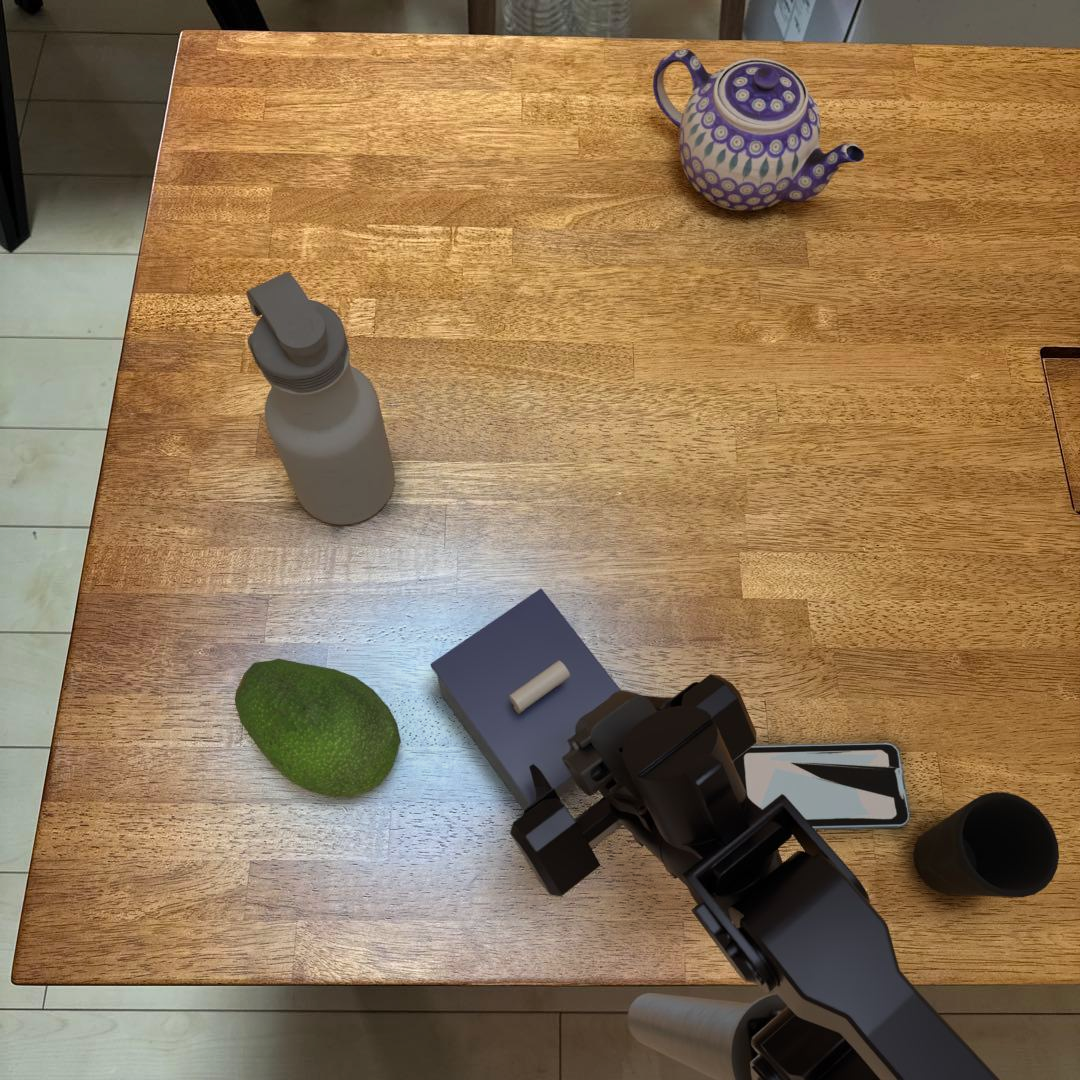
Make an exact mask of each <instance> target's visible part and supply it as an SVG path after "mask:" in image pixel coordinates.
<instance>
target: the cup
mask: <svg viewBox="0 0 1080 1080" xmlns="http://www.w3.org/2000/svg"><path fill="white" fill-rule="evenodd" d="M912 854H913V865H914V868H915V870H916V872H917V875H918V876H919V878H920V879H921V881H923V883H924V884H925V885H926V886H928V888H930V889H931V890H933V891H935V892H936V893H939V894H943V895H948V896H951V895H952V896H973V897H996V898H998V897H999V898H1026V897H1030V896H1034V895H1036V894H1038V893H1039V892H1041V891H1042V890H1044V889H1046V888H1047V886H1048V885H1049V884H1050V883H1051V882H1052V881H1053V880H1054V876H1055V874H1056V873H1057V870H1058V868H1059V867H1058V866H1059V860H1060V850H1059V842H1058V838H1057V836H1056V832H1055V830H1054V828H1053V826H1052V825H1051V823H1050V821H1049V819H1048V818H1047V817H1046V816H1045V815H1044V813H1043V812H1042V811H1041V810H1040V809H1039V808H1038V807H1037V806H1035V805H1034V804H1033V803H1032V802H1031V801H1029V800H1027V799H1025V798H1023V797H1022V796H1019V795H1017V794H1014V793H1011V792H1010V793H1009V792H1005V791H1003V792H1001V791H993V792H989V793H984V794H980V795H979V796H977V797H976V798H974V799H973V800H971V801H970V802H968V803H966V804H965V805H964V806H962V807H960V808H959V809H958V810H956V811H955V812H953V813H951V814H950V815H949V816H947V817H946V818H944V819H942V820H941V821H939V822H937V824H935V825H933V826H932V827H930V828H929V829H927V830H926V831H924V832H923V833H922V834H921V835H920V836H919V837H918V838H917V841H916V842H915V844H914V848H913V853H912Z"/></svg>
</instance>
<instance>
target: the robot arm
mask: <svg viewBox="0 0 1080 1080" xmlns="http://www.w3.org/2000/svg"><path fill="white" fill-rule="evenodd" d="M575 733H576V734H575V735H574V736H572V737H571V738H570V739H568V740H567V742H568V744H569V745H570V751H569V752H568V753H567V754H566V755H564V756H563V757H562V761H563V763H564V765H565V766H566V768H567V769H568V771H569V772H570V774H571V776H572V777H573V779H574V780H575V782H576V783H577V785H576V786H578V788H579V789H580V790H581V791H582V793H583V794H585V795H587V796H588V797H592V796H595V794H597V793H598V792H599V793H600V795H601V796H602V798H600V799H598V801H596V802H594V804H592V805H591V806H590V807H588V808H587V809H586V810H585V811H583V812H582V813H580V815H578V816H576V817H575V818H574V816H573V815H572V813H571V812H570V810H569V809H568V808H567V806H566V805H565V804H564V803H563V801H561V798H559V797H558V795H557V793H556V791H555V790H554V788H552V787H551V785H550V784H549V782H548V781H547V779H546V778H545V776H544V775H543V773H542V772H541V770H540V769H539V768H538V767H536V766H535V765H534V764H532V765H531V766H530V767H529V769H530V773H531V777H532V781H533V785H534V789H535V794H536V801H535V802H533V803H532V804H531V805H529V806H528V807H527V808H525V810H522V815H521V816H520V817H518V818H517V819H516V820H514V821H513V822H512V824H511V828H510V830H509V834H510V836H511V837H512V840H513V842H515V844H516V846H517V848H518V849H519V851H520V852H521V854H522V856H523V858H524V860H525V861H526V862H527V864H528V866H529V867H530V869H531V871H532V872H533V875H535V878H536V879H537V880H538V882H539V884H540V885H541V886H542V887H543V888H544V890H545V891H546V893H548V895H550V896H555V897H559V898H562V897H563V896H564V895H565V894H567V893H568V892H569V891H571V890H572V889H573V888H574V887H575V886H577V885H578V884H579V883H581V882H582V881H583V880H584V879H586V878H587V877H589V875H591V874H592V873H594V871H596V870H598V868H599V867H601V863H600V861H599V859H598V858H597V856H596V854H595V852H594V850H593V849H594V848H596V847H597V846H598V845H599V844H601V843H602V842H603V841H604V840H606V839H607V838H608V837H610V836H611V835H613V834H614V833H615V832H616V831H617V830H618V829H620V828H622V827H624V828H625V829H626V830H627V831H628V832H629V833H630V834H631V836H632V838H633V840H634V841H635V842H636V843H637V844H638V845H639V846H640V847H641V848H643V847H645V849H646V850H648V852H650V853H651V855H653V856H654V857H655V858H656V859H657V860H658V861H659V862H660V863H661V864H662V865H663V866H664V869H665V870H666V872H667V873H668V874H669V875H670V876H671V877H672V878H673V879H675V880H677V879H678V880H679V881H680V882H681V883H682V884H683V885H685V887H686V888H687V890H688V892H689V894H690V895H691V897H692V899H693V900H694V902H695V903H696V905H694V906H693V908H691V909H690V911H691V913H692V914H693V915H694V916H695V918H696V919H697V921H698V922H699V923H700V925H701V926H702V927H703V929H704V930H705V931H706V933H707V934H708V936H709V937H710V939H711V940H712V941H713V942H714V944H715V945H716V946H717V948H718V949H719V951H720V952H721V953H722V954H723V956H724V958H725V959H726V960H727V961H728V962H729V964H730V966H731V967H732V968H733V969H734V971H735V972H736V974H737V975H738V976H739V977H740V978H741V980H743V981H744V982H746V983H752V984H754V985H756V986H757V987H759V988H760V989H761V990H762V991H763V992H765V993H766V994H767V993H768V994H770V993H771V992H772V991H774V992H775V993H777V994H778V995H779V997H780V998H781V999H782V1000H783V1001H784V1002H785V1003H786V1004H787V1007H786V1008H785V1009H779V1010H771V1012H770V1013H769V1014H770V1016H769V1017H759V1018H751V1019H749V1020H748V1021H747V1025H746V1026H747V1033H748V1039H749V1046H750V1053H751V1060H752V1061H751V1062H750V1067H751V1076H752V1080H1001V1079H1000V1078H999V1077H998V1076H997V1075H996V1074H995V1073H994V1071H992V1070H991V1068H990V1067H989V1066H988V1065H987V1064H986V1063H985V1062H984V1061H983V1060H982V1058H980V1056H978V1054H977V1053H976V1052H975V1051H974V1050H973V1049H972V1048H971V1047H970V1046H969V1044H967V1042H966V1041H964V1039H963V1038H962V1037H961V1036H960V1035H959V1034H958V1033H957V1032H956V1030H955V1029H953V1027H951V1025H950V1024H949V1023H948V1022H947V1021H946V1020H945V1019H944V1018H943V1016H941V1014H940V1013H939V1012H938V1011H937V1010H936V1009H935V1008H934V1007H933V1006H932V1004H930V1002H929V1001H928V1000H927V999H926V998H925V997H924V996H923V995H922V994H921V993H920V992H919V990H918V989H916V987H915V985H913V984H912V982H911V981H910V980H909V979H908V978H907V977H906V975H905V974H904V973H903V972H902V971H901V969H900V966H899V962H898V958H897V954H896V950H895V947H894V944H893V943H894V942H893V939H892V936H891V932H890V929H889V926H888V923H887V922H886V921H885V919H884V918H883V917H882V916H881V915H880V913H879V912H878V911H877V910H876V908H874V906H873V905H872V904H871V901H870V896H869V894H868V892H867V890H866V888H865V887H864V885H863V884H862V882H861V881H860V880H859V878H858V877H857V876H856V875H855V873H854V872H853V871H852V870H851V869H850V868H849V866H847V864H846V863H845V862H844V861H843V860H842V859H841V857H840V856H839V855H838V854H837V853H836V852H835V850H834V849H833V848H832V847H831V846H830V845H829V844H828V843H827V842H826V840H825V839H824V838H823V837H822V836H821V835H820V834H819V833H818V831H817V830H815V829H814V828H813V827H812V826H811V825H810V823H809V822H808V821H807V820H806V819H805V818H804V817H803V816H802V814H801V813H800V812H799V811H798V810H797V809H796V808H795V806H794V805H793V804H792V803H791V802H790V801H789V800H788V798H787V797H786V796H785V795H783V794H781V795H780V796H778V797H777V798H776V799H775V800H774V801H772V802H771V803H770V804H769V805H767V806H766V807H765V808H764V809H761V808H760V807H758V806H757V805H756V804H754V803H753V802H752V801H751V800H750V799H749V798H748V795H747V793H746V791H745V788H744V786H743V784H742V782H741V779H740V777H739V775H738V773H737V770H736V768H735V766H734V764H733V761H734V760H735V759H737V758H738V757H739V756H740V755H742V754H743V753H744V752H746V751H747V750H748V749H749V748H751V747H752V746H753V745H756V744H757V731H756V727H755V725H754V723H753V721H752V718H751V716H750V714H749V711H748V709H747V707H746V704H745V702H744V699H743V697H742V694H741V692H740V691H739V690H738V689H737V688H736V686H735V685H734V684H733V683H732V682H730V681H729V680H727V679H726V678H724V677H722V676H721V675H719V674H715V673H714V674H713V673H709V674H708V675H707V676H706V677H705V678H703V679H702V680H701V681H694V682H691V683H690V684H689V685H687V686H686V687H685V688H683V689H682V690H681V691H680V692H678V693H677V694H675V695H674V696H673V697H671V696H670V697H669V696H668V697H666V696H664V697H663V696H655V695H654V696H652V695H643V694H639V693H636V692H633V691H629V690H625V689H624V690H623V689H621V690H620V691H617V692H615V693H614V694H612V695H611V696H610V697H609V698H608V699H607V700H606V701H604V702H603V703H602V704H600V705H599V706H598V707H596V708H595V709H593V710H592V711H591V712H589V713H587V714H585V715H584V716H582V717H581V718H580V719H579V720H578V722H577V724H576V727H575ZM792 837H794V839H795V840H796V841H797V843H798V844H799V845H800V847H801V848H802V850H797V851H795V852H794V853H793V854H791V855H790V856H789V857H788V858H787V859H786V860H784V861H783V858H782V856H781V854H780V848H781V847H783V845H784V844H785V843H786V842H788V841H789V840H791V838H792ZM751 1022H755V1024H756V1027H755V1028H751V1026H750V1025H751Z"/></svg>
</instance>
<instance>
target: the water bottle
mask: <svg viewBox="0 0 1080 1080" xmlns="http://www.w3.org/2000/svg"><path fill="white" fill-rule="evenodd" d="M245 293H246V297H247V301H248V303H249V308H250V311H251V313H252V314H253V316H255V317H256V318H258V317H260V318H259V319H258V320H257V322H256V324H255V326H254V327H253V331H252V332H251V334H250V335H249V336H248V337H247V345H248V348H249V351H250V352H251V355H252V357H253V360H254V362H255V364H256V366H257V367H258V369H259V370H260V372H261V373H262V375H263V377H264V379H265V380H266V381H267V382H268V384H269V385H270V390H269V392H268V393H267V396H266V400H265V404H264V420H265V425H266V428H267V431H268V433H269V436H270V439H271V441H272V443H273V445H274V447H275V449H276V452H277V454H278V457H279V459H280V461H281V464H282V466H283V468H284V471H285V472H286V475H287V477H288V480H289V481H290V484H291V486H292V489H293V491H294V493H295V495H296V498H297V499H298V502H299V504H300V505H301V506H302V508H303V509H304V510H305V511H307V512H308V513H309V514H310V515H311V516H312V517H314V518H316V519H318V520H319V521H321V522H325V523H328V524H331V525H339V526H342V525H352V524H357V523H360V522H362V521H365V520H367V519H370V518H371V517H373V516H374V515H375V514H377V513H378V512H379V511H380V510H381V509H382V508H383V507H384V506H385V505H386V504H387V502H388V501H389V500H390V497H391V495H392V493H393V490H394V486H395V480H396V474H395V473H396V471H395V467H394V463H393V458H392V454H391V450H390V444H389V441H388V436H387V431H386V426H385V423H384V418H383V413H382V409H381V405H380V400H379V396H378V394H377V391H376V389H375V386H374V385H373V383H372V382H371V381H370V380H369V378H368V377H367V376H366V375H365V373H363V372H362V371H360V370H359V369H358V368H357V367H355V366H353V365H351V364H350V359H351V349H350V346H349V342H348V339H347V338H348V337H347V335H346V331H345V326H344V324H343V321H342V319H341V318H340V316H339V315H338V313H336V311H335V310H334V309H332V308H331V307H330V306H328V305H326V304H325V303H322V302H321V301H317V300H314V299H309V297H308V296H307V294H306V293H305V290H304V289H303V288H302V287H301V285H300V284H299V282H298V281H297V279H296V278H295V277H294V276H293V275H292V274H291V273H290V272H288V271H285V272H283V273H281V274H279V275H277V276H275V277H272V278H271V279H269V280H266V281H264V282H262V283H260V284H258V285H256V286H253V287H251V288H249V289H247V290H246V292H245Z"/></svg>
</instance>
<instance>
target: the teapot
mask: <svg viewBox="0 0 1080 1080" xmlns="http://www.w3.org/2000/svg"><path fill="white" fill-rule="evenodd" d="M673 63H682V64H683V65H684V66H685V67H686V69H687V71H688V72H689V74H690V77H691V85H692V91H691V95H690V96H689V98H688V101H687V102H686V105H685V107H684V109H683V112H681V111H680V110H679V109H678V108H677V107H675V105H674V104H673V102H672V101H671V100H670V98H669V96H668V94H667V91H666V87H665V83H664V80H665V79H664V78H665V72H666V70H668V68H669V66H670V65H672V64H673ZM652 92H653V96H654V99H655V101H656V103H657V105H658V107H659V109H660V110H661V111H662V113H663V114H664V115H665V116H666V117H667V119H668V120H670V122H672V123H673V124H674V126H676V127H677V128H678V130H679V132H678V151H679V159H680V163H681V167H682V170H683V172H684V174H685V176H686V178H687V180H688V181H689V182H688V183H690V184H691V185H692V187H693V188H694V189H695V190H696V192H698V193H699V194H701V196H702V197H704V198H705V199H706V200H708V201H710V202H711V203H713V204H714V205H716V206H719V208H724V209H727V210H732V211H755V210H764V209H766V208H769V207H772V206H774V205H776V204H779V203H782V202H787V203H790V204H797V203H804V202H807V201H810V200H813V199H814V198H815V197H817V196H818V195H819V194H820V193H822V191H823V190H824V189H825V188H826V187H827V185H828V184H829V183H830V182H831V180H832V178H833V177H834V175H836V173H837V171H838V170H839V169H840V168H841V167H842V166H843V165H845V164H849V163H859V162H862V161H863V160H864V159H865V153H864V150H863V149H862V148H861V147H860V146H859V145H858V144H856V143H853V142H845V143H842V144H839V145H837V146H835V147H834V148H832V149H831V150H830V151H828V152H823V151H822V150H821V147H820V134H821V127H822V126H821V119H820V107H819V105H818V104H817V102H816V100H815V99H814V97H813V96H812V94H811V93H810V92H809V90H808V88H807V86H806V83H805V82H804V80H803V79H802V77H801V75H800V74H798V73H797V72H796V71H795V70H793V69H792V68H790V67H789V66H787V65H786V64H784V63H781V62H778V61H776V60H772V59H768V58H763V57H762V58H761V57H751V58H744V59H740V60H738V61H735V62H733V63H731V64H729V65H727V66H726V67H724V68H721V69H719V70H717V71H716V72H713V73H710V72H708V71H707V70H706V68H705V67H704V65H703V63H702V62H701V60H700V59H699V58H698V56H697V55H696V54H695V53H694V52H693V51H692V50H690V49H688V48H681V49H677V50H675V51H673V52H671V53H669V54H667V55H666V56H664V57H663V58H662V59H661V60H659V61H658V64H657V65H656V67H655V68H654V73H653V77H652Z"/></svg>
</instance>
